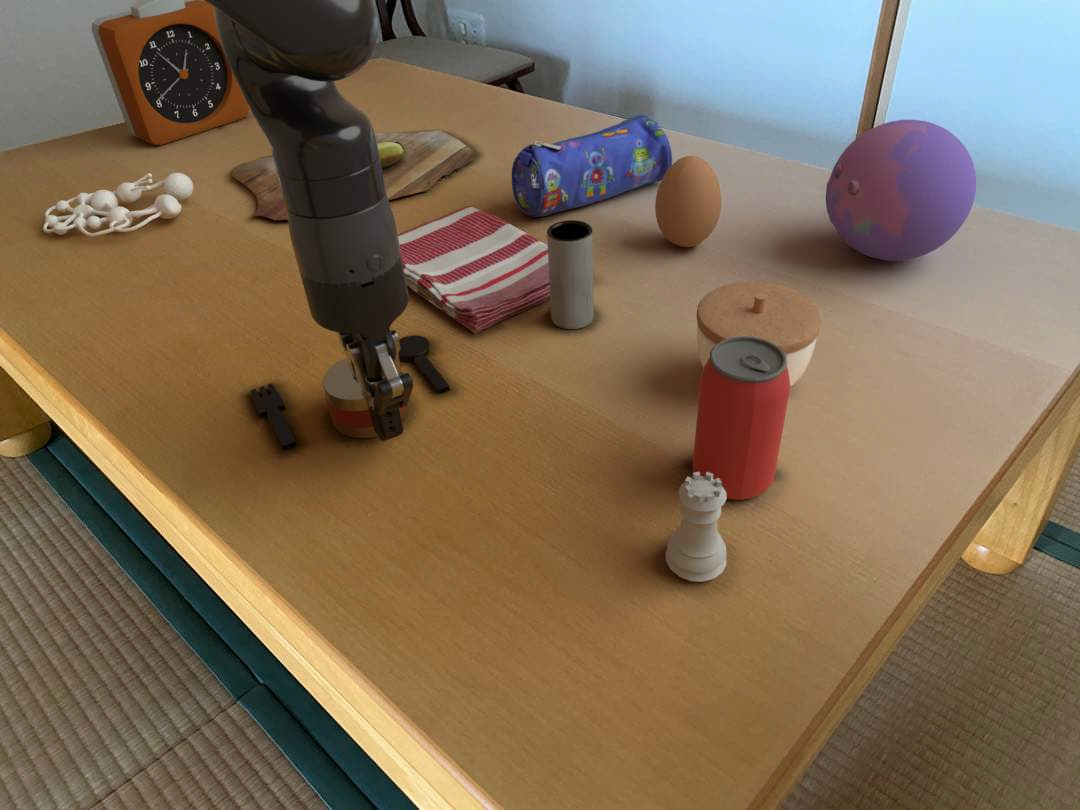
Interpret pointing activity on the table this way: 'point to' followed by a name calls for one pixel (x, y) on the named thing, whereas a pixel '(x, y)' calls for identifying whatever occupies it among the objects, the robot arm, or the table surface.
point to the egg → (688, 202)
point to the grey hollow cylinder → (571, 273)
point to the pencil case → (590, 167)
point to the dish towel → (475, 267)
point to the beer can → (741, 415)
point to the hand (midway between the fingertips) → (389, 433)
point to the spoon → (421, 360)
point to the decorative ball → (901, 190)
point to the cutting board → (403, 161)
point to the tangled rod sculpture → (118, 216)
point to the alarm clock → (169, 69)
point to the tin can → (349, 403)
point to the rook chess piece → (698, 531)
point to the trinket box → (760, 321)
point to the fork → (274, 414)
